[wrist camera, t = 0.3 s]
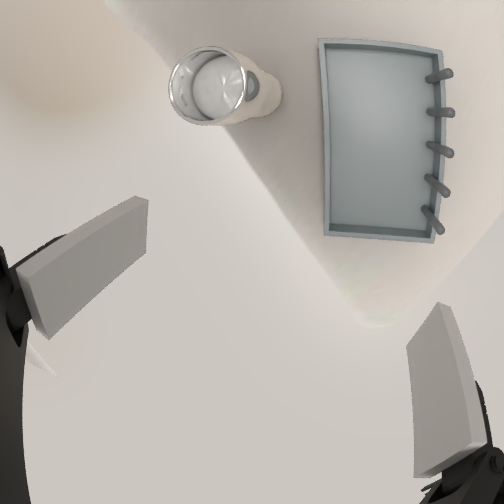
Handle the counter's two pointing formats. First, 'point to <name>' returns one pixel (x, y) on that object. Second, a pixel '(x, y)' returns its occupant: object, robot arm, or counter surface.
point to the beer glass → (221, 87)
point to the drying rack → (383, 139)
